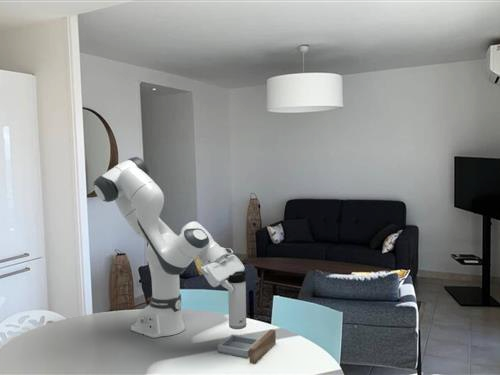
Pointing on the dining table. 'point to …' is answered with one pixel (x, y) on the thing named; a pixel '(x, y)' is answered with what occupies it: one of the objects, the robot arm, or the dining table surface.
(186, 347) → the dining table surface
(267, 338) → the walnut rail
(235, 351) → the slate tray
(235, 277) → the travel mug
